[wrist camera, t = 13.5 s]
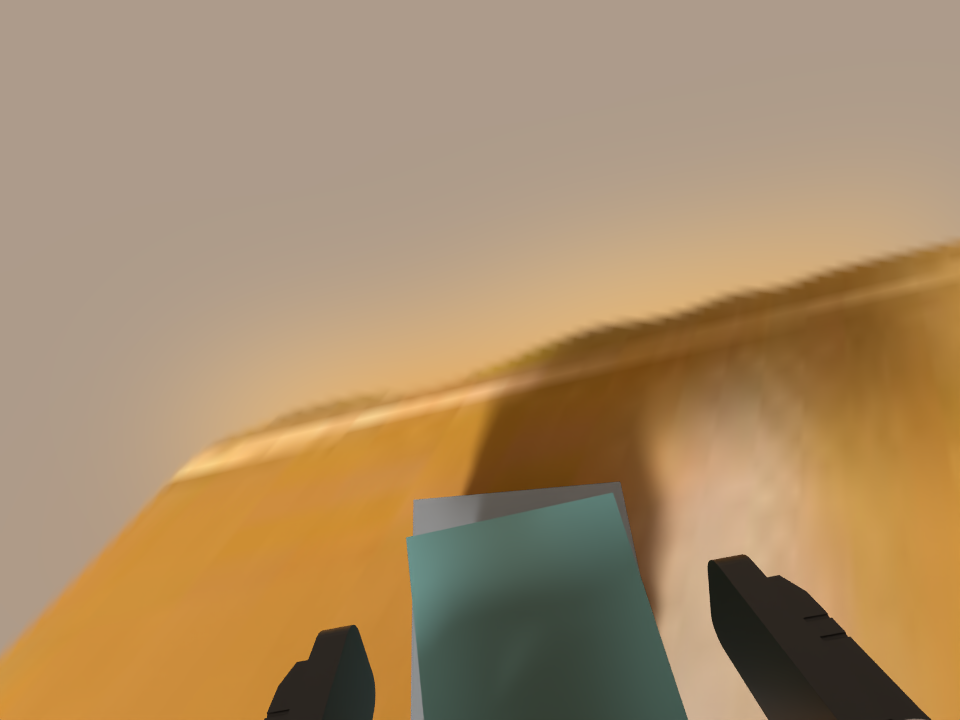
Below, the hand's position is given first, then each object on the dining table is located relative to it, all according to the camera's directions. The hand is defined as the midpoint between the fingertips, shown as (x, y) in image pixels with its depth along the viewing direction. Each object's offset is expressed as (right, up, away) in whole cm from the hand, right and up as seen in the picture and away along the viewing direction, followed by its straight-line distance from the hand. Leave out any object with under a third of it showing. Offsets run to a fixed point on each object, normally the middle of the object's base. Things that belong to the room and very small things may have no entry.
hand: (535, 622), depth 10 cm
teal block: (+1, -3, +5) cm, 6 cm away
